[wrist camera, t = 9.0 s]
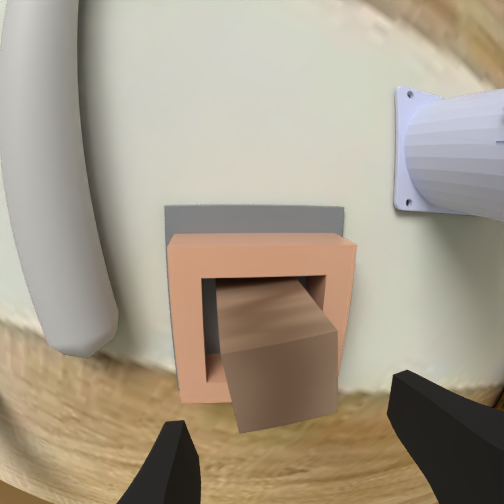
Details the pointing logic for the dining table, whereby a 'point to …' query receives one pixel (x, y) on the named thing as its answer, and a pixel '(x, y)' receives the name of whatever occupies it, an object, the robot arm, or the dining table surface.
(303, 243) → the socket
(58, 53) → the tube
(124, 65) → the dining table surface
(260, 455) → the dining table surface
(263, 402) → the peg
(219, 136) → the dining table surface
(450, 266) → the dining table surface
